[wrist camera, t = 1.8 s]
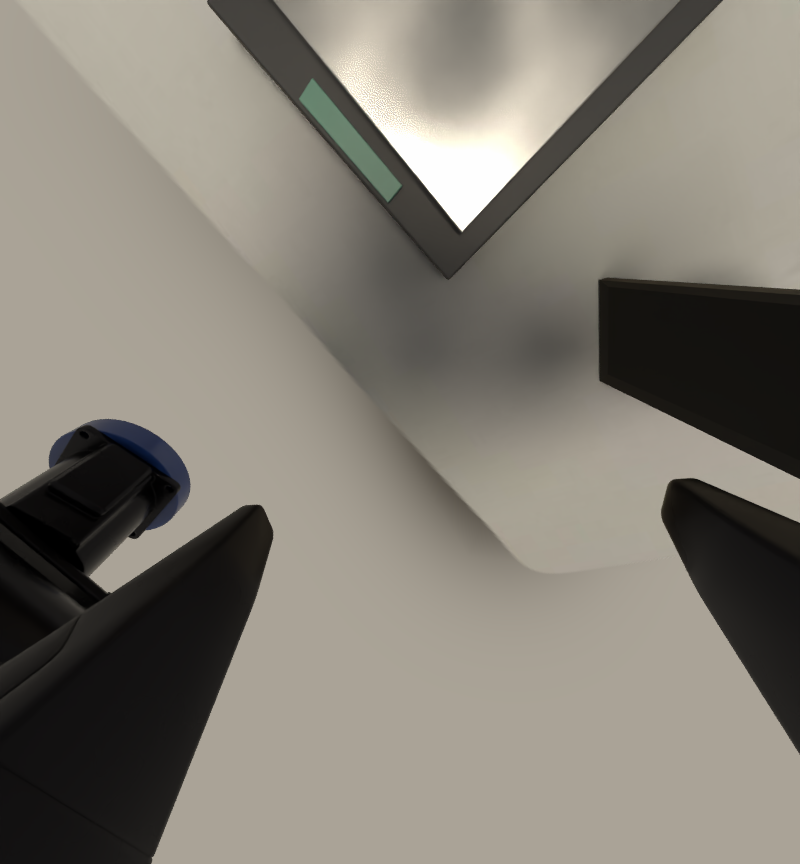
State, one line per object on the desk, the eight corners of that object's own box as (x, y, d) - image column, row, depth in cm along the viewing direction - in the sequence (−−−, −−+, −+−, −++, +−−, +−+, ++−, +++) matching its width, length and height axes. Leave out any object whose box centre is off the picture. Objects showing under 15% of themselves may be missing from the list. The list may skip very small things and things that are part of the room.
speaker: (564, 390, 19) (740, 507, 10) (599, 276, 17) (875, 292, 8) (689, 399, 20) (960, 516, 11) (740, 291, 18) (1146, 323, 8)
